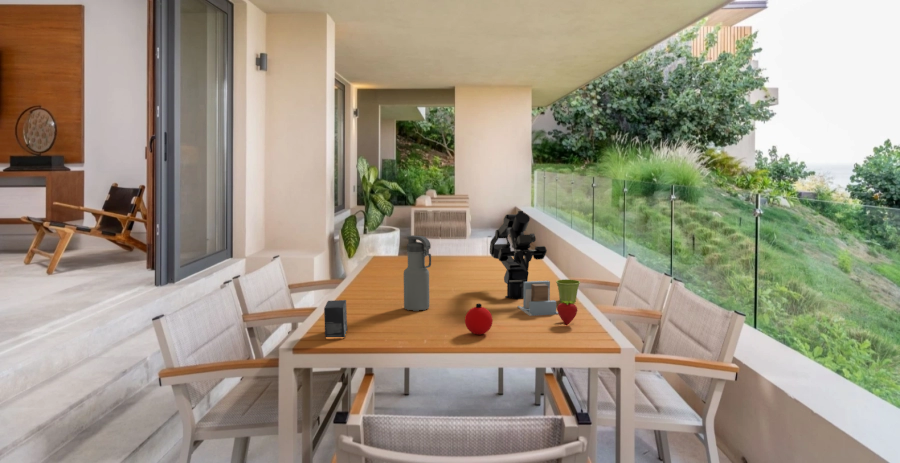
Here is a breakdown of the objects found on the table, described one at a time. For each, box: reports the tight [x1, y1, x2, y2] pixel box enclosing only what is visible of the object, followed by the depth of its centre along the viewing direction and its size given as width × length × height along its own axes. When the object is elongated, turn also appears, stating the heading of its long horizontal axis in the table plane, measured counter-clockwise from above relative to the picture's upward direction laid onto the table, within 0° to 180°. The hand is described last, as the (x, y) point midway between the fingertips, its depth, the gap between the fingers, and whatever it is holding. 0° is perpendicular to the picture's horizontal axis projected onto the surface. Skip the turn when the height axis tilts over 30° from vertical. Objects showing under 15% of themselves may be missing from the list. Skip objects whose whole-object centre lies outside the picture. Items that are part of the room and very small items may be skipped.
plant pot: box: [555, 278, 581, 303], centre depth 244 cm, size 9×9×9 cm
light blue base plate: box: [517, 305, 559, 317], centre depth 228 cm, size 14×11×1 cm
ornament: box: [464, 303, 494, 336], centre depth 199 cm, size 9×9×10 cm
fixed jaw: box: [529, 299, 557, 316], centre depth 223 cm, size 2×10×4 cm, turn 101°
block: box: [531, 284, 548, 301], centre depth 226 cm, size 4×5×10 cm
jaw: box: [522, 280, 551, 309], centre depth 229 cm, size 2×10×10 cm, turn 101°
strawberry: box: [556, 299, 578, 326], centre depth 210 cm, size 6×8×10 cm
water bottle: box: [403, 235, 432, 312], centre depth 235 cm, size 10×10×28 cm
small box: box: [323, 299, 348, 338], centre depth 199 cm, size 11×6×10 cm, turn 5°
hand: (527, 270), depth 240 cm, fingers closed
